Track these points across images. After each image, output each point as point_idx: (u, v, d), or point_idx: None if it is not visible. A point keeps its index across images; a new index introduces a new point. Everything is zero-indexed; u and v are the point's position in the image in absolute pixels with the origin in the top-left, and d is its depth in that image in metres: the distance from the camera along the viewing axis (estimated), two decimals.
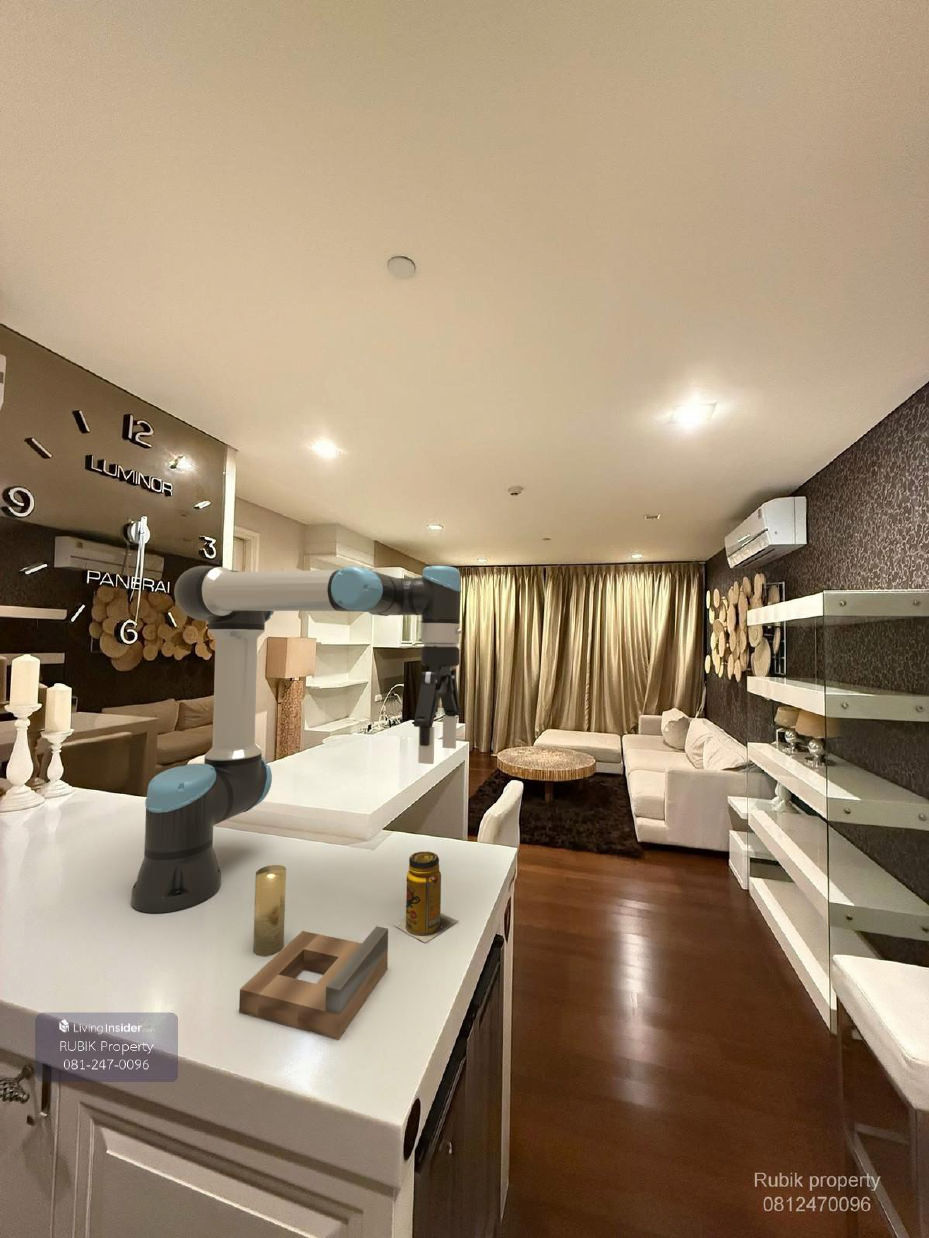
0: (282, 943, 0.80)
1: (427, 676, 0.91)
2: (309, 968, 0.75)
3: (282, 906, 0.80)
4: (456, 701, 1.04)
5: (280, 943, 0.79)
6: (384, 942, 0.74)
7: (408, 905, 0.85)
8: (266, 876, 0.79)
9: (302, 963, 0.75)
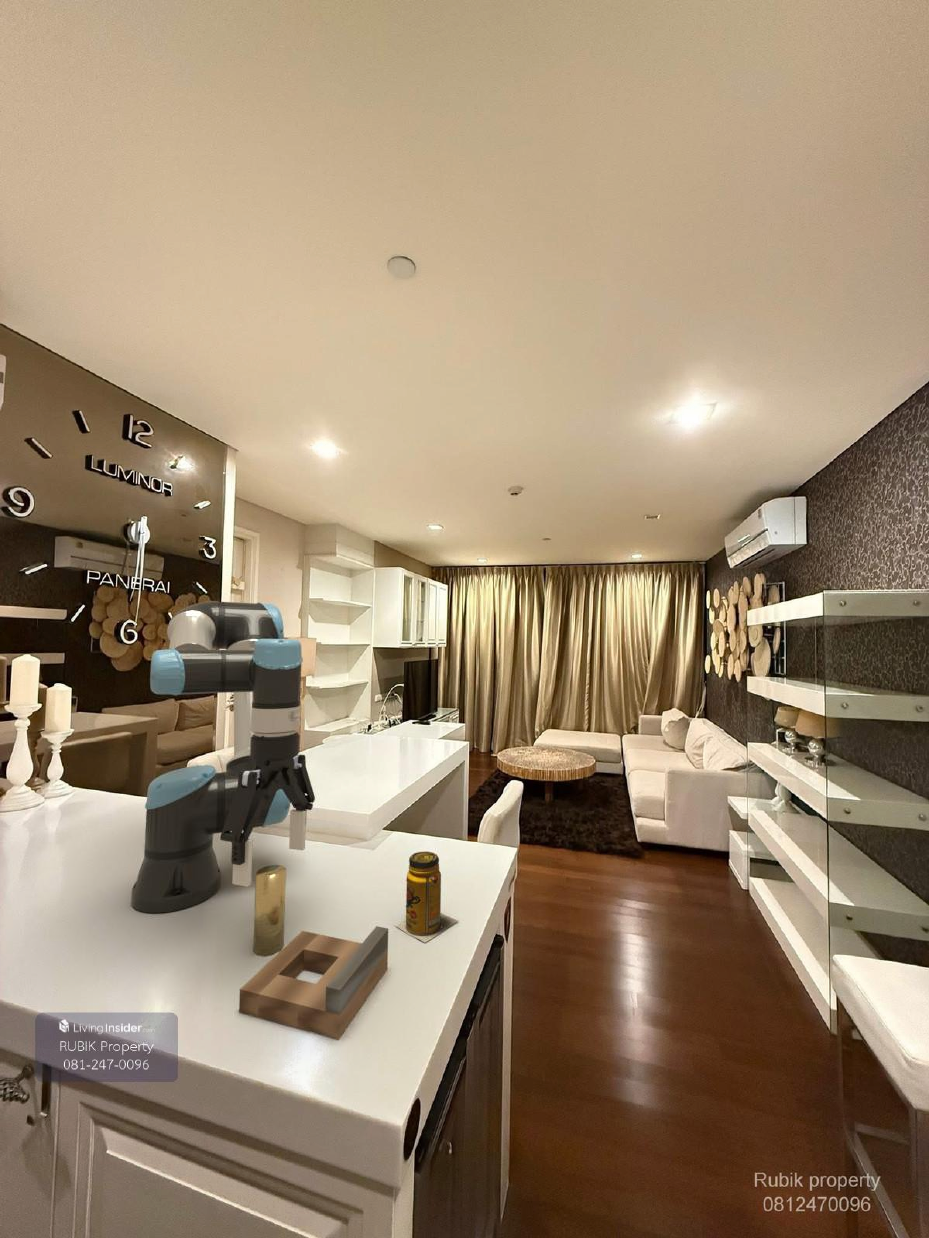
0: (282, 943, 0.80)
1: (245, 777, 0.75)
2: (309, 968, 0.75)
3: (282, 906, 0.80)
4: (307, 792, 0.88)
5: (280, 943, 0.79)
6: (384, 942, 0.74)
7: (408, 905, 0.85)
8: (266, 876, 0.79)
9: (302, 963, 0.75)
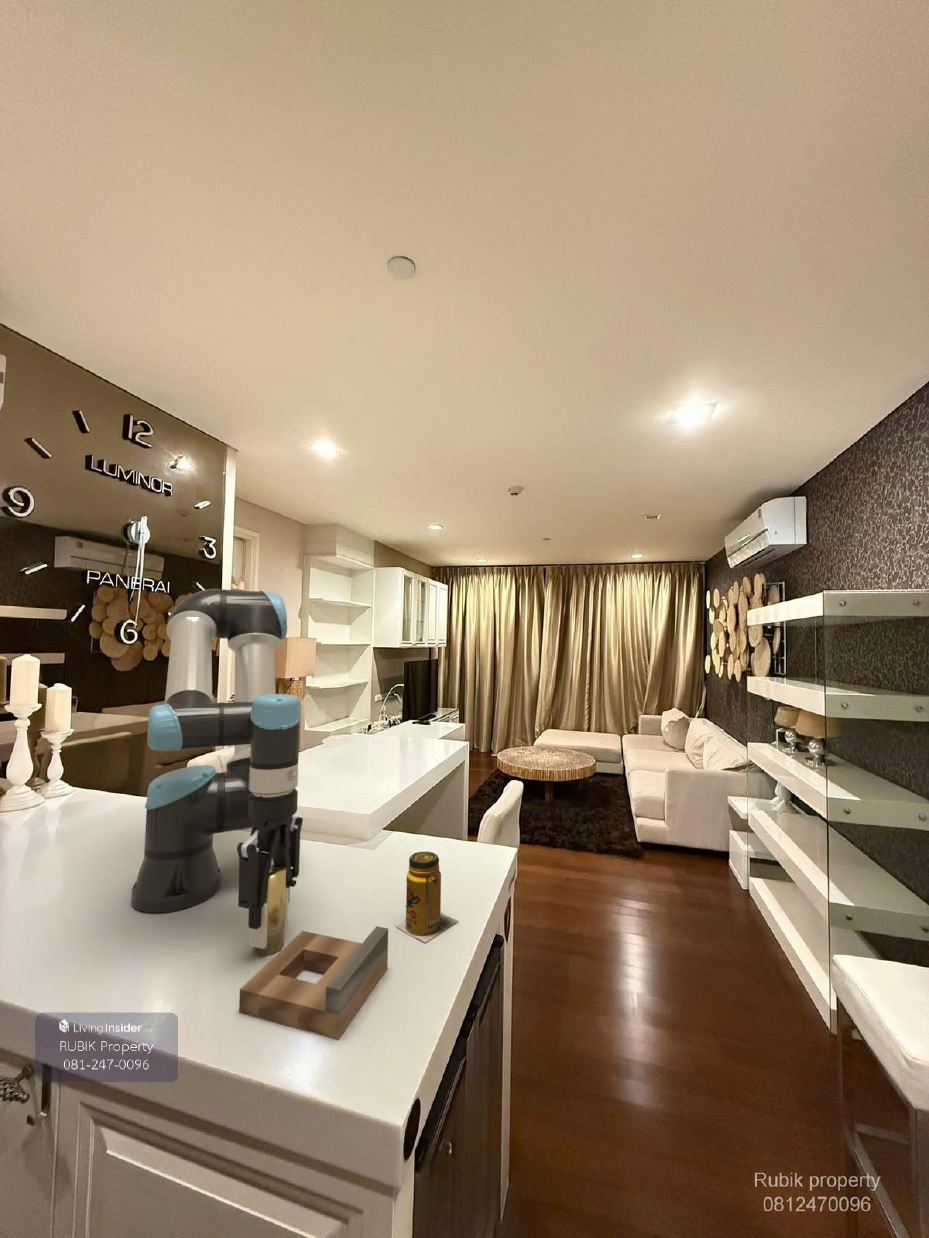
0: (282, 943, 0.80)
1: (243, 852, 0.75)
2: (309, 968, 0.75)
3: (282, 906, 0.80)
4: (294, 862, 0.85)
5: (280, 943, 0.80)
6: (384, 942, 0.74)
7: (408, 905, 0.85)
8: None
9: (302, 963, 0.75)
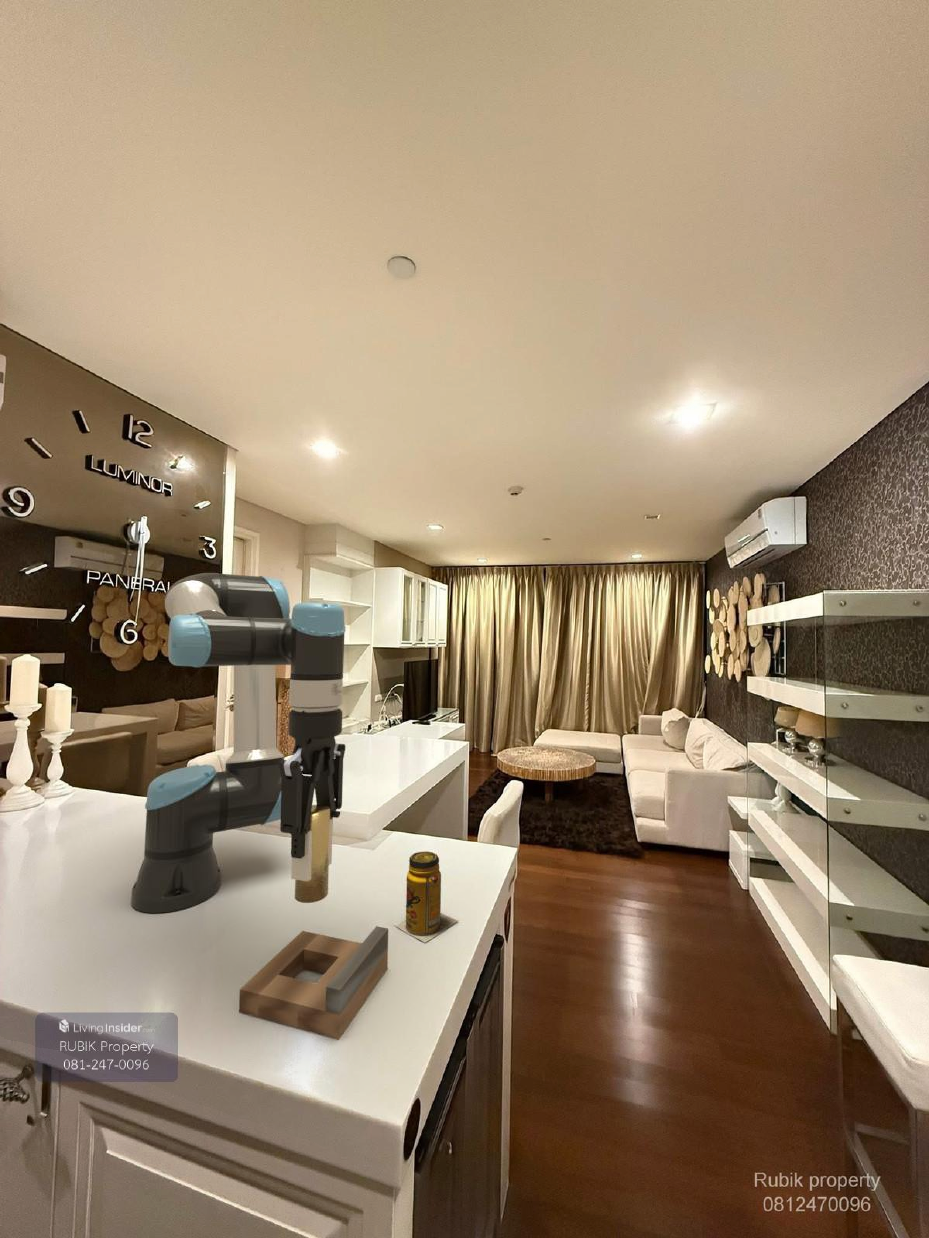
0: (327, 890, 0.71)
1: (287, 769, 0.66)
2: (309, 968, 0.75)
3: (326, 848, 0.71)
4: (337, 792, 0.77)
5: (325, 889, 0.71)
6: (384, 942, 0.74)
7: (408, 904, 0.85)
8: None
9: (302, 963, 0.75)
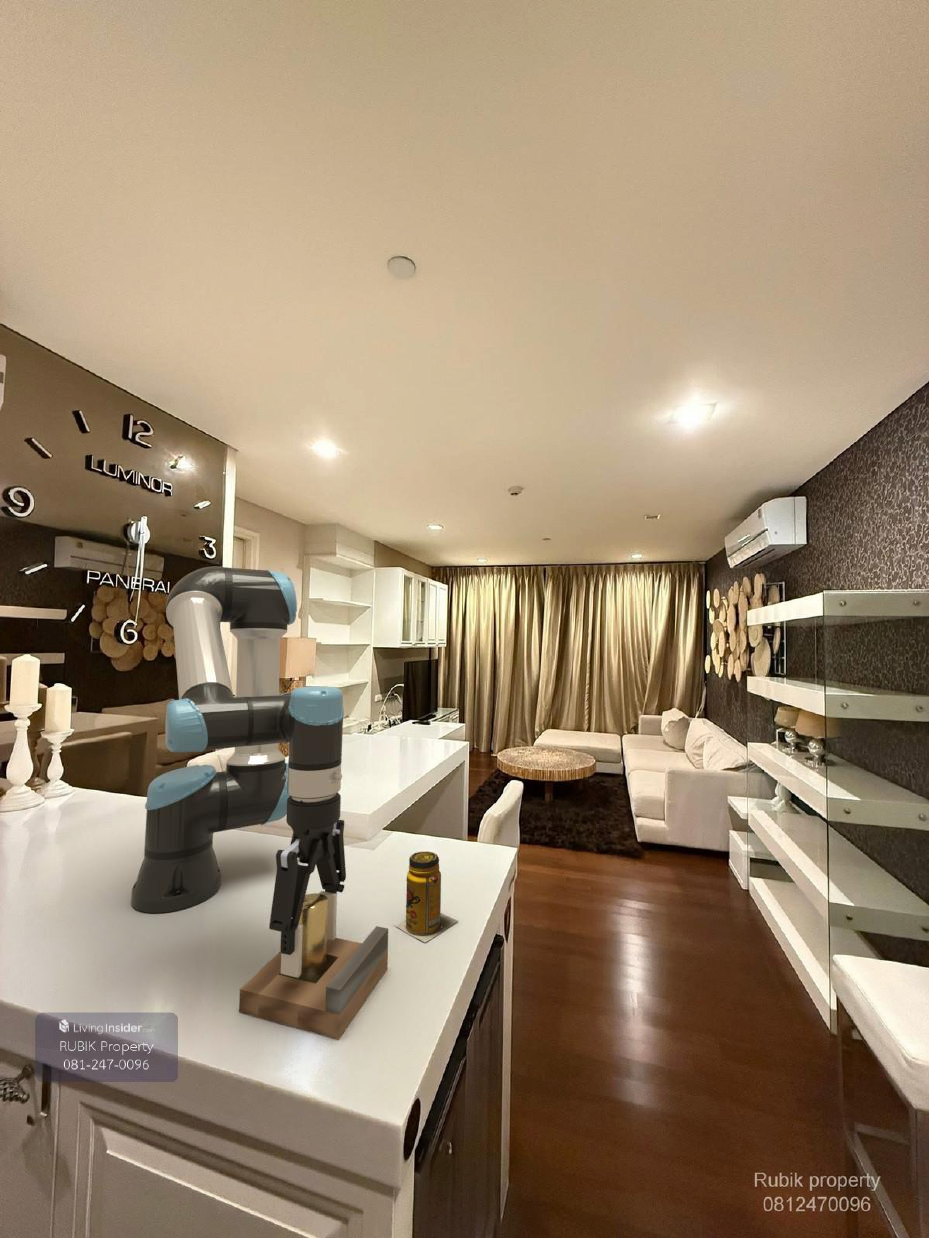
0: None
1: (283, 860, 0.66)
2: None
3: (324, 941, 0.71)
4: (340, 867, 0.77)
5: None
6: (384, 942, 0.74)
7: (408, 904, 0.85)
8: (306, 907, 0.70)
9: None
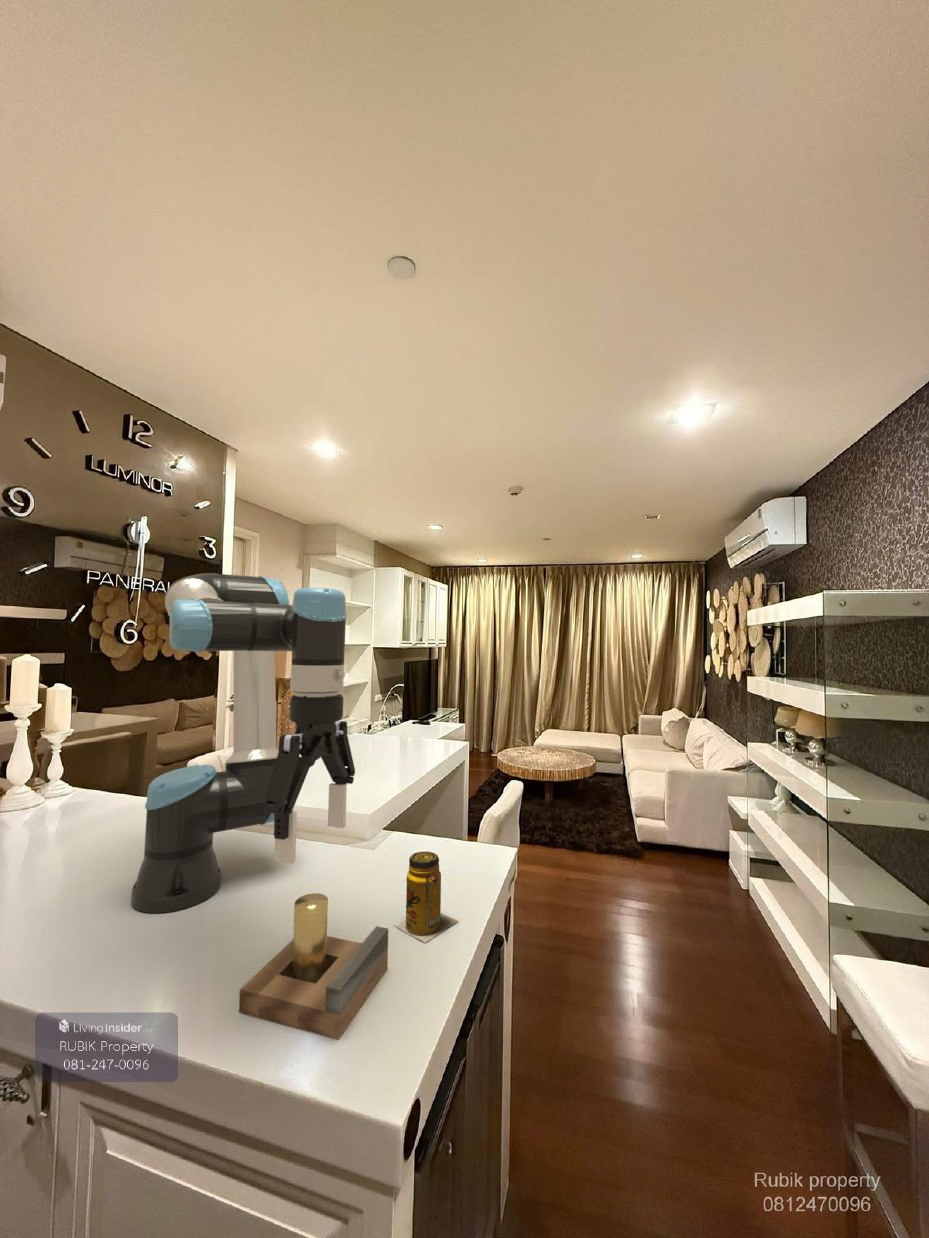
0: None
1: (286, 742, 0.66)
2: None
3: (324, 941, 0.71)
4: (348, 763, 0.80)
5: None
6: (384, 942, 0.74)
7: (408, 904, 0.85)
8: (306, 907, 0.70)
9: None
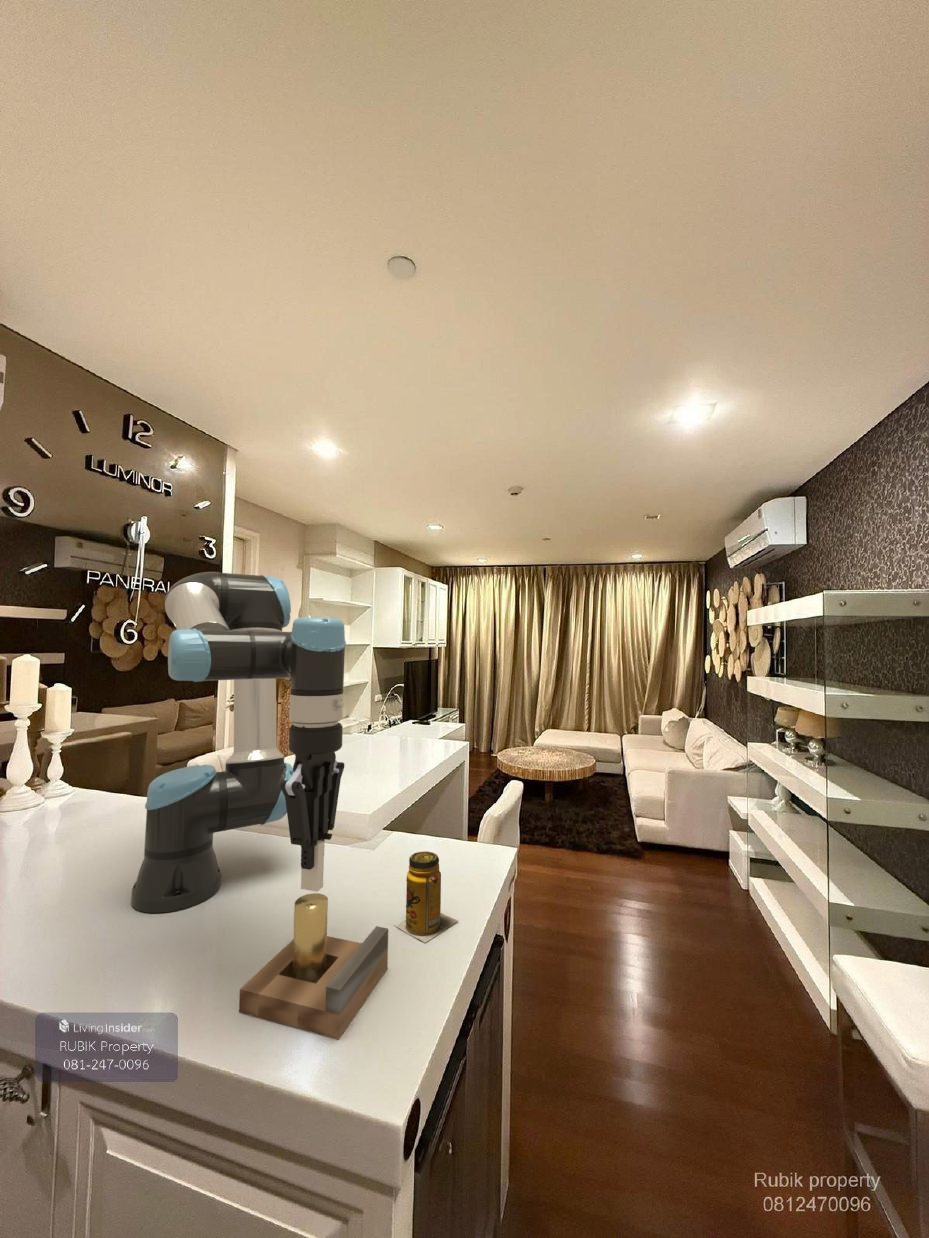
0: None
1: (289, 790, 0.67)
2: None
3: (324, 941, 0.71)
4: (331, 811, 0.75)
5: None
6: (384, 942, 0.74)
7: (408, 905, 0.85)
8: (306, 907, 0.70)
9: None
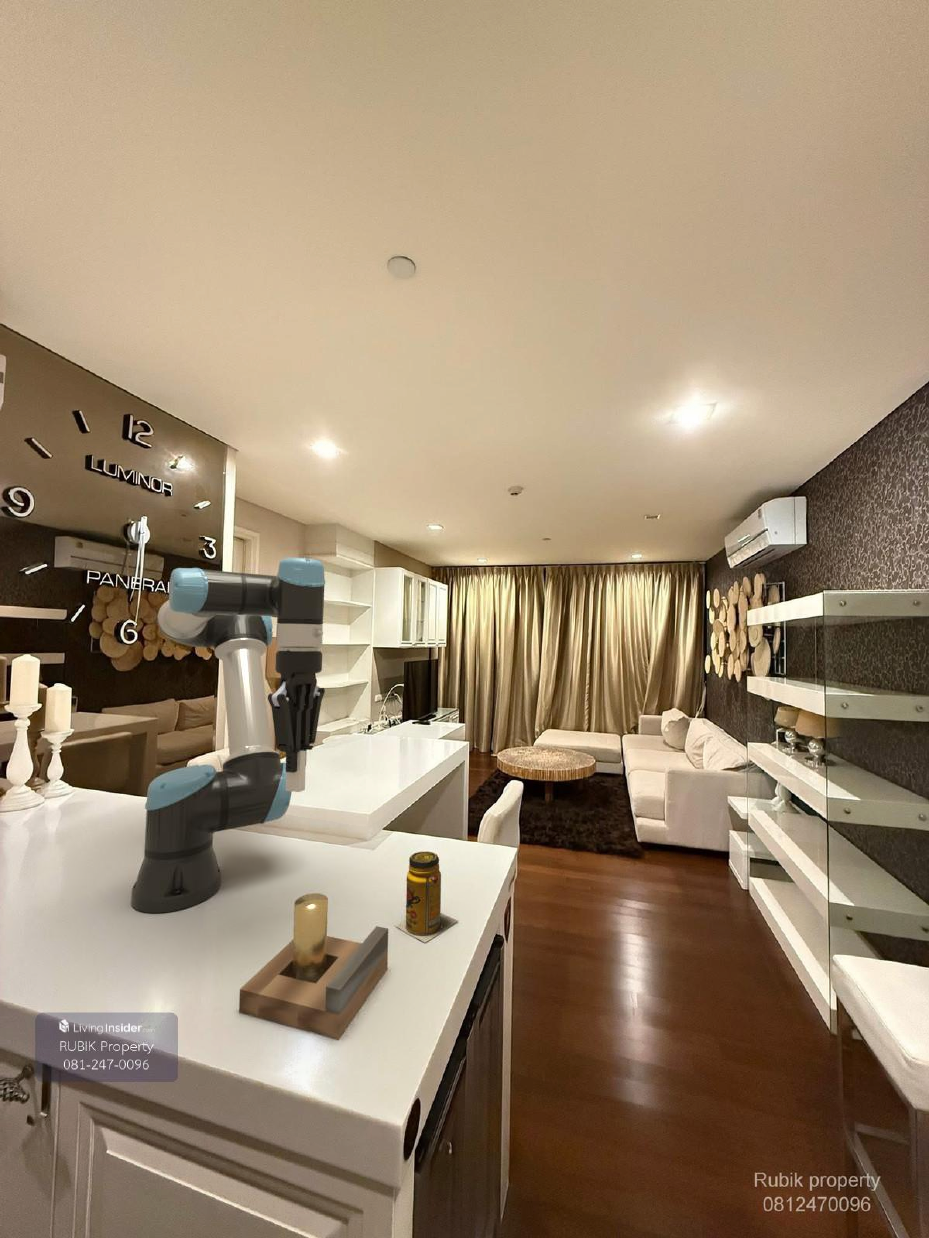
0: None
1: (274, 701, 0.78)
2: None
3: (324, 941, 0.71)
4: (312, 727, 0.87)
5: None
6: (384, 942, 0.74)
7: (408, 904, 0.85)
8: (306, 907, 0.70)
9: None
